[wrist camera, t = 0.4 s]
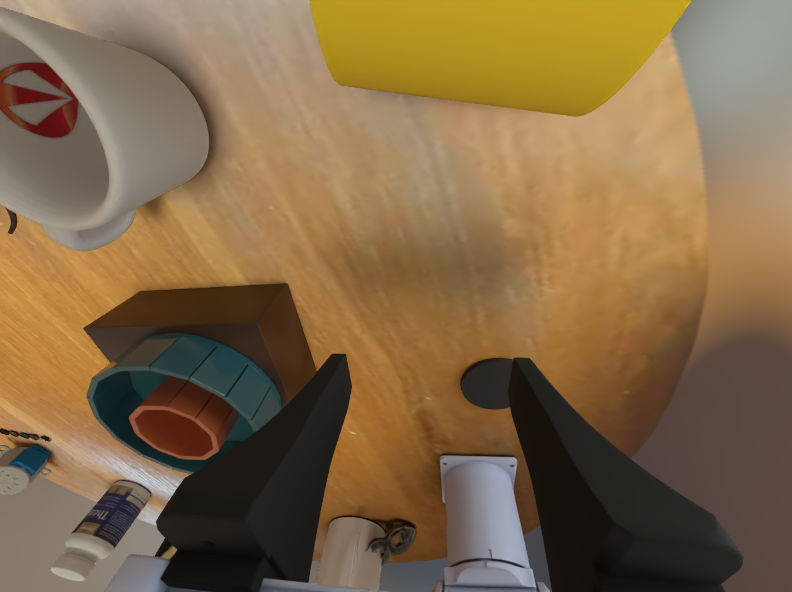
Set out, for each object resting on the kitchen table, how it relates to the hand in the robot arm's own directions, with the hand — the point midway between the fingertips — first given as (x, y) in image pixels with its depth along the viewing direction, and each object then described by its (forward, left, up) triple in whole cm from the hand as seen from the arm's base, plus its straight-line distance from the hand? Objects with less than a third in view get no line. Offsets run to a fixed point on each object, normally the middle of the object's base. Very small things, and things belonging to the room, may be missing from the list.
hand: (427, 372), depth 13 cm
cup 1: (+10, +16, -10) cm, 21 cm away
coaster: (-12, -5, -10) cm, 16 cm away
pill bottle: (-33, +45, -10) cm, 57 cm away
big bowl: (-7, +17, -5) cm, 19 cm away
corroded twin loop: (-40, +8, -9) cm, 42 cm away
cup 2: (-40, +12, -10) cm, 43 cm away
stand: (-7, +17, -10) cm, 21 cm away
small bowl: (-7, +17, -5) cm, 19 cm away
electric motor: (-23, +52, -9) cm, 58 cm away
